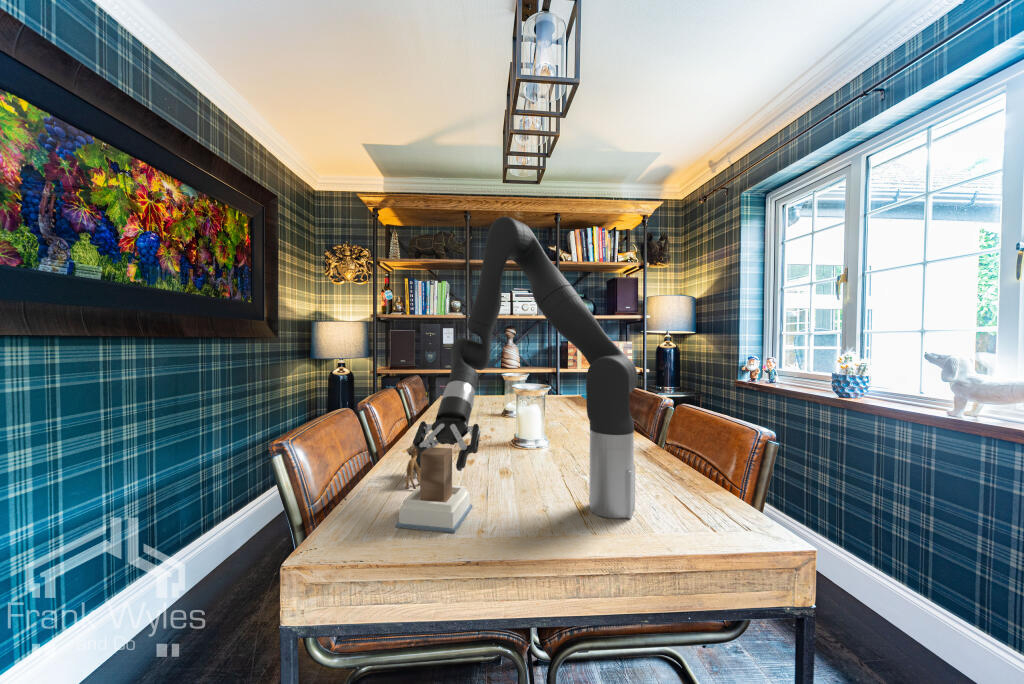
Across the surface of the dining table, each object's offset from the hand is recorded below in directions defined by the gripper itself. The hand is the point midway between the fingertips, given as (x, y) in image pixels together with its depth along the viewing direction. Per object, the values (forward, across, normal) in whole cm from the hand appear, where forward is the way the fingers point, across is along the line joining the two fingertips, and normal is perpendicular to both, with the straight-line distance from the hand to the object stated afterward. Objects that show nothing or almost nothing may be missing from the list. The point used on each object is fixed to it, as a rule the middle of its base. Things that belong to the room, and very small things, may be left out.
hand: (439, 467), depth 86 cm
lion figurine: (-6, -13, +20) cm, 25 cm away
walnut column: (+5, 0, +3) cm, 6 cm away
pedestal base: (+8, 0, +6) cm, 10 cm away
